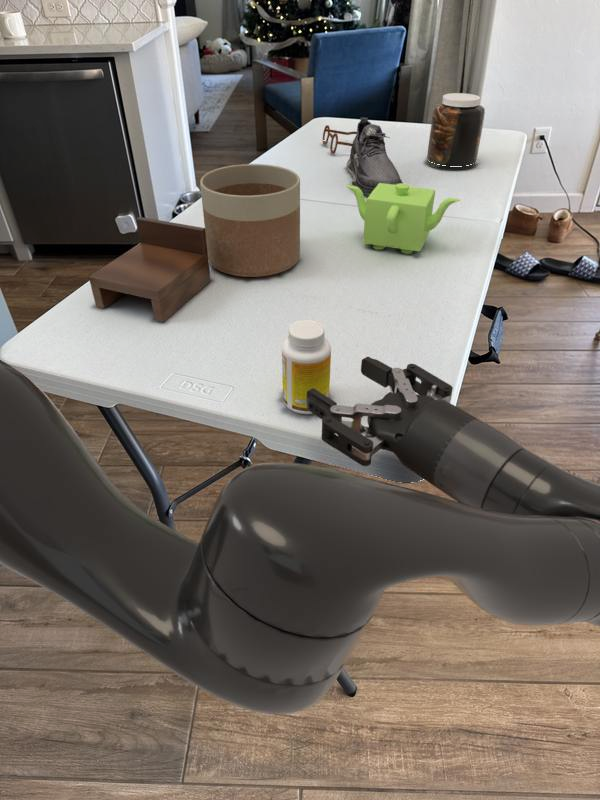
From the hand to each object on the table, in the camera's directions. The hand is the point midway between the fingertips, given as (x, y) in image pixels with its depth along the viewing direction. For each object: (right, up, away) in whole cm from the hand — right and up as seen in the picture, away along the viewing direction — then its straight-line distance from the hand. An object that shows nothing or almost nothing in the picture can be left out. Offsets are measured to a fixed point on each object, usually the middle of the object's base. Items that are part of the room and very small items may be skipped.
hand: (337, 379), depth 63 cm
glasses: (+10, +65, +90) cm, 111 cm away
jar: (+33, +56, +80) cm, 103 cm away
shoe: (+12, +48, +69) cm, 85 cm away
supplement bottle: (-3, -3, +7) cm, 8 cm away
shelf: (-27, +15, +28) cm, 41 cm away
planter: (-12, +22, +37) cm, 45 cm away
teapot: (+13, +26, +43) cm, 52 cm away
